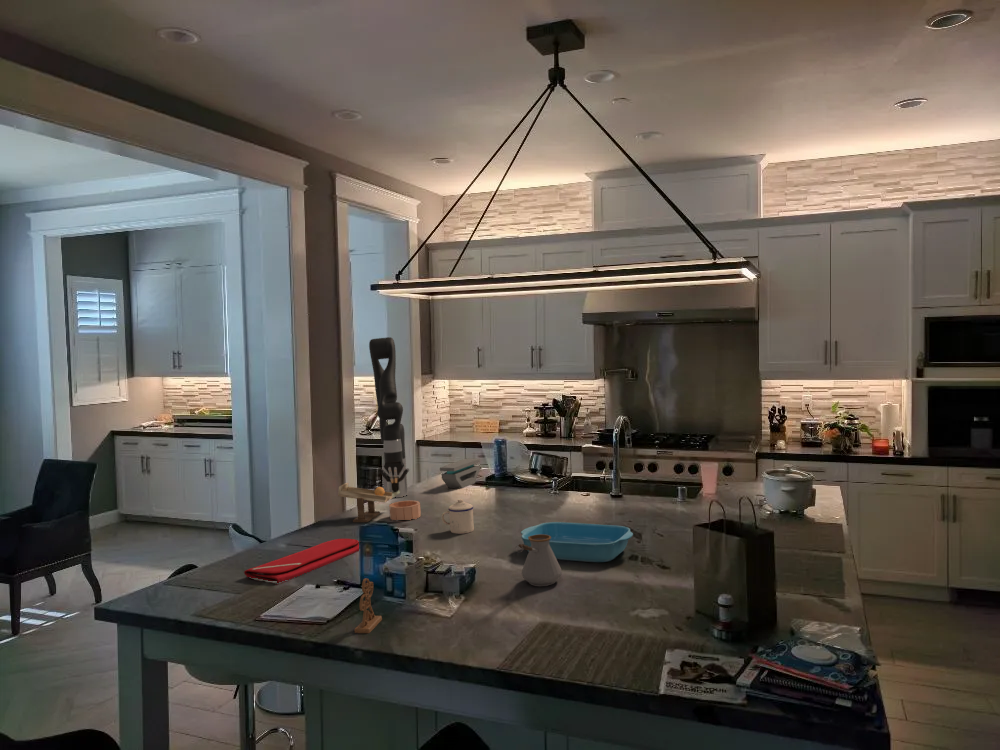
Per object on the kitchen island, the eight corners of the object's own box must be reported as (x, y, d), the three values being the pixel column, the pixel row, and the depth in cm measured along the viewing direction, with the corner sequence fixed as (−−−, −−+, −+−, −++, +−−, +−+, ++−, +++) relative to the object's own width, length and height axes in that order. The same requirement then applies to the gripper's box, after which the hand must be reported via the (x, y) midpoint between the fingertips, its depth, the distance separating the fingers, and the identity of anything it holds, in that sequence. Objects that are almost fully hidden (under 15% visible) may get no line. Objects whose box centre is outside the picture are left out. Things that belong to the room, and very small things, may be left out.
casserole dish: (509, 558, 236) (508, 536, 236) (539, 539, 256) (537, 519, 255) (621, 569, 219) (619, 545, 219) (643, 548, 239) (642, 526, 238)
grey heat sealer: (467, 480, 371) (466, 458, 370) (481, 480, 367) (479, 458, 367) (441, 490, 349) (439, 467, 348) (455, 491, 345) (454, 468, 345)
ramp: (355, 487, 317) (356, 477, 317) (399, 493, 314) (400, 483, 313) (338, 496, 300) (338, 486, 300) (385, 502, 296) (385, 492, 296)
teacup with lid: (476, 527, 277) (474, 496, 276) (472, 533, 268) (470, 501, 267) (445, 528, 278) (443, 497, 278) (439, 534, 269) (437, 502, 269)
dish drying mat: (368, 548, 258) (367, 538, 258) (279, 586, 223) (278, 574, 223) (334, 544, 266) (333, 534, 266) (243, 580, 231) (242, 568, 230)
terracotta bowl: (396, 514, 306) (395, 500, 306) (424, 513, 304) (423, 500, 303) (386, 521, 294) (385, 507, 294) (415, 521, 292) (414, 507, 292)
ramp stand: (366, 513, 310) (364, 491, 309) (379, 513, 309) (378, 491, 308) (353, 522, 296) (351, 498, 296) (367, 522, 295) (365, 498, 294)
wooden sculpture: (369, 633, 181) (365, 584, 180) (354, 632, 182) (350, 584, 181) (382, 619, 190) (379, 573, 189) (368, 619, 191) (364, 573, 190)
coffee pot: (530, 574, 219) (527, 523, 218) (568, 577, 214) (565, 525, 213) (501, 599, 199) (498, 543, 198) (541, 602, 194) (538, 546, 194)
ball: (376, 495, 303) (376, 485, 303) (386, 495, 302) (385, 486, 302) (373, 497, 299) (373, 487, 299) (382, 498, 298) (382, 488, 298)
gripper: (410, 448, 312) (413, 489, 313) (381, 449, 315) (384, 490, 316) (405, 451, 305) (408, 493, 306) (374, 452, 308) (377, 493, 308)
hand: (395, 491), depth 311 cm, fingers closed
